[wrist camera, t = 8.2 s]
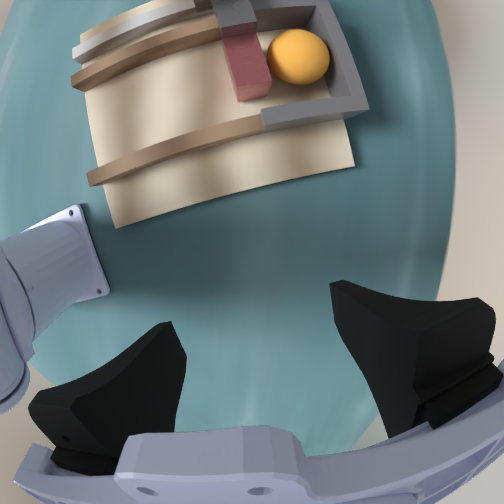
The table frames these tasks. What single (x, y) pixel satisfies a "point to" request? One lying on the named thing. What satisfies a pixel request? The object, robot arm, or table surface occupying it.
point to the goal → (337, 75)
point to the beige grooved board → (187, 115)
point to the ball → (298, 57)
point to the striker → (240, 46)
